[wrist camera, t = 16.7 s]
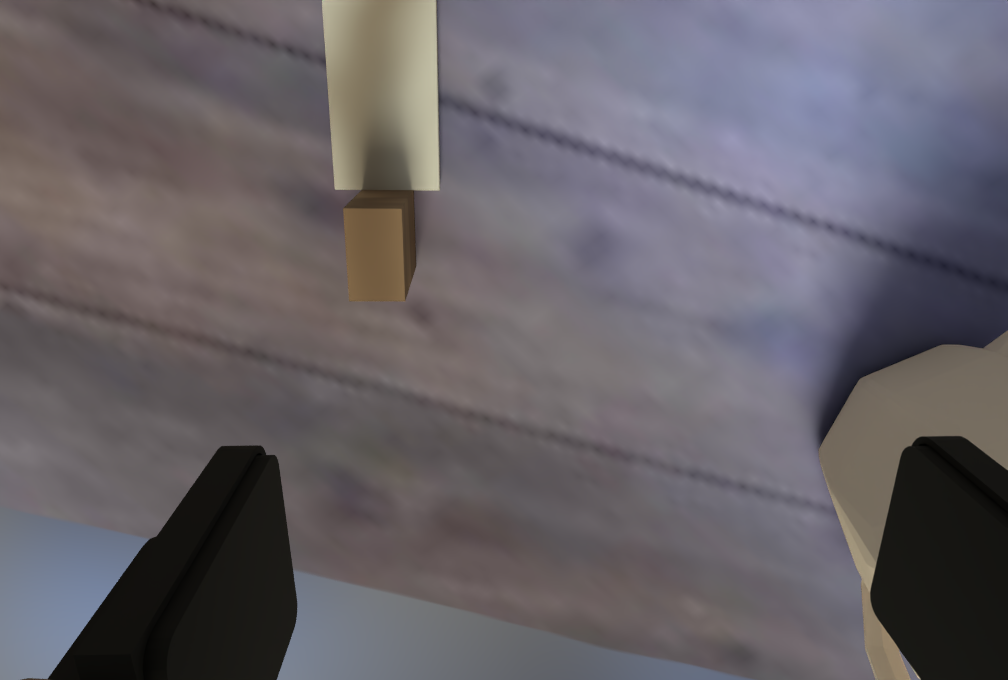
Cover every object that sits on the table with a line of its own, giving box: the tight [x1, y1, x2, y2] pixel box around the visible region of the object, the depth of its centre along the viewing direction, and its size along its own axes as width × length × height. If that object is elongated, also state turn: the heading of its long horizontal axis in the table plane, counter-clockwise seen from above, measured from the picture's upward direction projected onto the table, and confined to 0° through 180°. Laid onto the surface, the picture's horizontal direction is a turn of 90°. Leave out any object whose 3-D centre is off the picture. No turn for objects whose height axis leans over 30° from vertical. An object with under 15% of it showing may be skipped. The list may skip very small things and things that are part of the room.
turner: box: [322, 0, 440, 301], centre depth 31 cm, size 5×16×6 cm, turn 179°
